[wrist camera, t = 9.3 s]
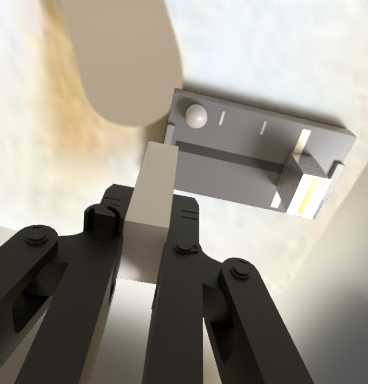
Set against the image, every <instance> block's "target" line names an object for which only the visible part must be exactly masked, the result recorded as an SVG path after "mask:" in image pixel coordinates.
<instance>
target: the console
mask: <svg viewBox="0 0 368 384" xmlns="http://www.w3.org/2000/svg"><path fill="white" fill-rule="evenodd" d="M356 138H357V137H356V136H355V135H354V134H353V133H352V132H351V131H349V130H347V129H343V128H339V127H335V126H331V125H327V124H322V123H318V122H314V121H310V120H306V119H302V118H298V117H293V116H289V115H285V114H281V113H277V112H273V111H269V110H264V109H260V108H256V107H252V106H248V105H244V104H239V103H235V102H231V101H227V100H223V99H219V98H215V97H210V96H206V95H202V94H198V93H194V92H190V91H186V90H181V89H177V88H175V90H174V95H173V99H172V104H171V109H170V113H169V118H168V123H167V127H166V132H165V136H164V141H163V144H167V145H172V146H177V147H179V149H178V157H177V165H176V173H175V182H174V189H176V190H180V191H185V192H190V193H194V194H199V195H204V196H209V197H213V198H218V199H223V200H227V201H232V202H237V203H241V204H246V205H251V206H255V207H260V208H265V209H269V210H274V211H279V212H283V213H286V211H285V208H284V206H283V204H282V201H281V199H280V197H279V194H278V192H277V189H276V185H277V182H278V180H279V177H280V175H281V173H282V170H283V168H284V165H285V163H286V161H287V158H288V156H289V153H290V152H294V153H298V154H303V155H307V156H311V157H314V158H315V159H316V161H317V162H318V164H319V165H320V166H321V168H322V169H323V170H324V172H325V173H326V175H327V176H328V177H329V179H330V180H331V181H330V183H329V185H328V187H327V189H326V191H325V193H324V195H323V197H322V199H321V201H320V203H319V205H318V207H317V209H316V211H315V212H314V214H313V216H312V218H311V219H315V218H316V216H317V214H318V212H319V210H320V208H321V206H322V204H323V202H324V200H325V199H326V200H327V198H328V196H329V194H330V193H331V191H332V189H333V187H334V185H335V183H336V181H337V179H338V177H339V175H340V173H341V171H342V169H343V167H344V164H343V163H344V161H345V159H346V157H347V155H348V153H349V151H350V149H351V147H352V146H353V144H354V142H355V140H356ZM288 214H289V213H288ZM293 215H294V214H293ZM297 216H298V215H297ZM302 217H303V216H302ZM307 218H308V217H307Z"/></svg>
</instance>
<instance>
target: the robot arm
mask: <svg viewBox="0 0 368 384" xmlns="http://www.w3.org/2000/svg"><path fill="white" fill-rule="evenodd" d="M178 149H179V147H177V146H172V145H167V144H162V143H157V142H152V141H149V142H148V146H147V149H146V152H145V155H144V159H143V162H142V165H141V168H140V172H139V175H138V178H137V181H136V185H135V188H133V187H128V186H122V185H117V184H113V185H112V186H110V187H109V188H107V189H106V191H105V193H104V196H103V198H102V200H101V203H100V204H94V205H92V206H90V207H88V208H87V209H86V210H85V211H84V228H83V232H82V233H79V234H76V235H69V236H58V233H57V232H56V231H55V229H53V228H51V227H49V226H45V225H32V226H28V227H25V228H23V229H21V230H20V231H18V232H17V233H16V234H15V235H14V236H12V237H11V238H10V239H9V240H8V241H6V242H5V243H4V244H3V245H2V246H1V247H0V368H1V367H2V365H3V364H4V363H5V361H6V360H7V359H8V358H9V356H10V355H11V354H12V353H13V352H14V350H15V349H16V348H17V347H18V345H19V344H20V343H21V341H22V340H23V339H24V338H25V336H26V335H27V334H28V332H29V331H30V330H31V329H32V328H33V326H34V325H35V324H36V323H37V321H38V320H39V319H40V317H41V316H42V315H43V314H44V313H45V311H46V310H47V309H48V310H47V312H46V315H45V317H44V319H43V321H42V323H41V326H40V328H39V330H38V332H37V334H36V337H35V339H34V341H33V343H32V346H31V348H30V350H29V352H28V354H27V357H26V359H25V361H24V363H23V365H22V368H21V370H20V372H19V374H18V376H17V379H16V381H15V383H14V384H90V381H91V377H92V374H93V370H94V366H95V362H96V359H97V354H98V351H99V347H100V344H101V339H102V336H103V332H104V328H105V325H106V321H107V317H108V313H109V309H110V306H111V302H112V298H113V294H114V291H115V285H116V278H122V279H128V280H134V281H140V282H146V283H152V284H157V285H156V290H155V294H154V299H153V303H152V308H151V309H152V314H151V322H150V328H149V335H148V342H147V349H146V356H145V363H144V370H143V377H142V384H203V317H204V322H205V325H206V329H207V332H208V336H209V340H210V343H211V347H212V350H213V354H214V357H215V361H216V364H217V368H218V372H219V375H220V379H221V382H222V384H314V382H313V381H312V378H311V377H310V375H309V373H308V370H307V369H306V366H305V364H304V362H303V360H302V358H301V356H300V354H299V352H298V350H297V348H296V346H295V344H294V343H293V340H292V338H291V336H290V334H289V332H288V330H287V328H286V326H285V324H284V322H283V320H282V318H281V316H280V314H279V312H278V310H277V308H276V306H275V304H274V302H273V300H272V298H271V296H270V294H269V292H268V290H267V288H266V286H265V284H264V282H263V280H262V278H261V276H260V274H259V272H258V270H257V269H256V268H255V266H254V265H252V264H251V263H250V262H248V261H246V260H244V259H241V258H228V259H227V260H225V261H224V262H223V263H221V262H219V261H216V260H214V259H212V258H210V257H209V256H207V255H206V254H205V253H204V252H203V251H202V248H201V246H200V244H199V205H198V203H197V201H196V200H195V198H192V197H186V196H181V195H176V194H173V190H174V182H175V173H176V165H177V157H178ZM48 307H49V308H48Z"/></svg>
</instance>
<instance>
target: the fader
mask: <svg viewBox="0 0 368 384" xmlns="http://www.w3.org/2000/svg"><path fill="white" fill-rule="evenodd" d="M330 181H331V180H330V179H329V177H328V176H327V175H326V173H325V172H324V170H323V169H322V168H321V166H320V165H319V164H318V162H317V161H316V159H315V158H314V157H311V156H307V155H303V154H298V153H294V152H290V153H289V156H288V158H287V161H286V163H285V165H284V168H283V170H282V173H281V175H280V177H279V180H278V182H277V185H276V189H277V192H278V194H279V197H280V199H281V201H282V204H283V206H284V208H285V211H286V213H289V214H294V215H298V216H303V217H308V218H312V216H313V214H314V212H315V211H316V209H317V207H318V205H319V203H320V201H321V199H322V197H323V195H324V193H325V191H326V189H327V187H328V185H329V183H330Z"/></svg>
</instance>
